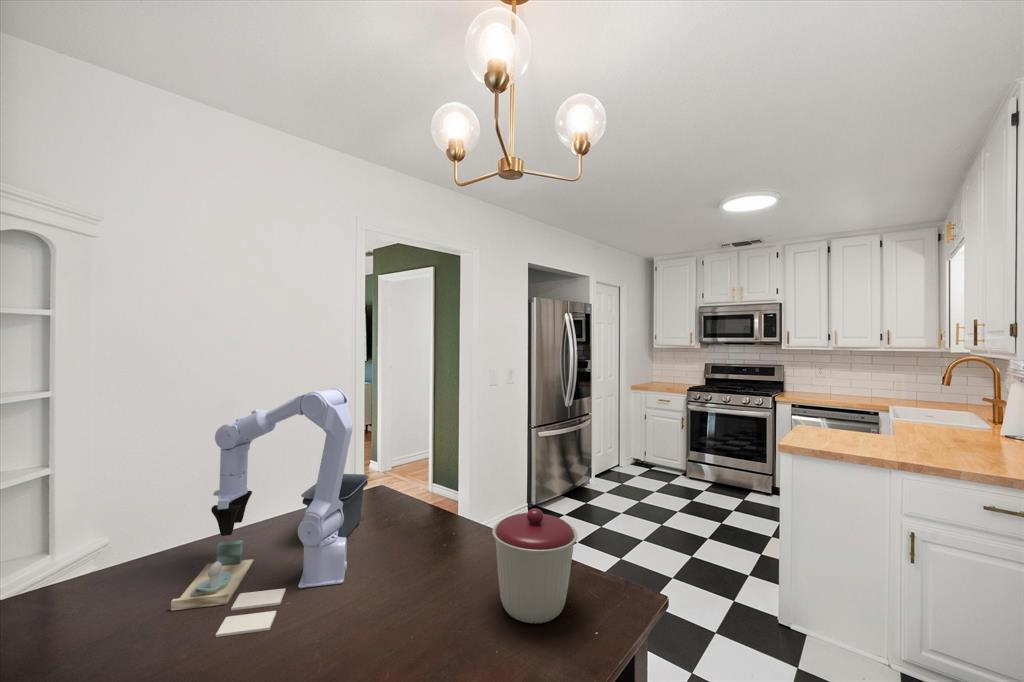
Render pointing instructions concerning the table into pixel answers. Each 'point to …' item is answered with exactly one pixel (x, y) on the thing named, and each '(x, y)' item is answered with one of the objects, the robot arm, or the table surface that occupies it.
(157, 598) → the table surface
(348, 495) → the storage bin
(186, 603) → the wooden board
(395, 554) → the table surface
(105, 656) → the table surface
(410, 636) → the table surface
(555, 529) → the canister
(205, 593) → the pacifier
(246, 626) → the broken strip
